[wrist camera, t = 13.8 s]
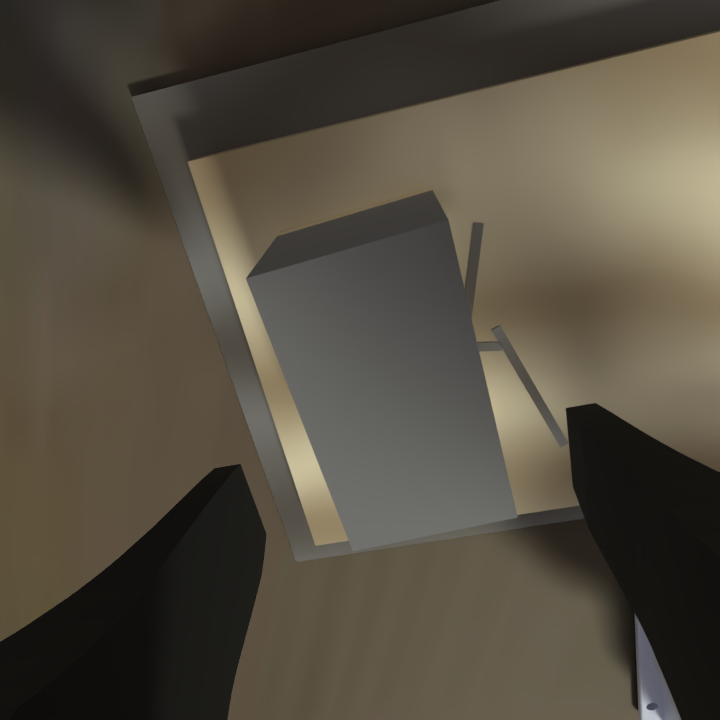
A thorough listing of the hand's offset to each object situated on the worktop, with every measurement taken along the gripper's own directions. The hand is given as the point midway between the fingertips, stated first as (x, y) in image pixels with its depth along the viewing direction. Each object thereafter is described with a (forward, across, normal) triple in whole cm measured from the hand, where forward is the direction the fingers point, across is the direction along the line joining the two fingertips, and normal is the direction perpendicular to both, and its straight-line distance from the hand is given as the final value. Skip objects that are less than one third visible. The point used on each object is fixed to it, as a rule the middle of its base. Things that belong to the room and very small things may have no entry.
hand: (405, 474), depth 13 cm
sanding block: (+6, 0, -1) cm, 6 cm away
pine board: (+8, -5, 0) cm, 10 cm away
